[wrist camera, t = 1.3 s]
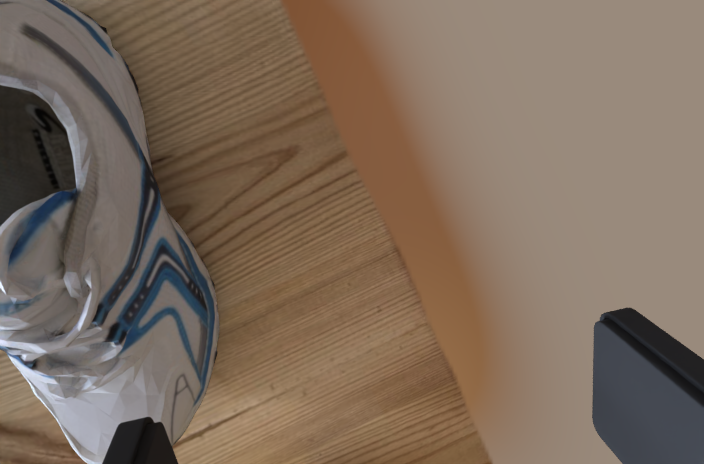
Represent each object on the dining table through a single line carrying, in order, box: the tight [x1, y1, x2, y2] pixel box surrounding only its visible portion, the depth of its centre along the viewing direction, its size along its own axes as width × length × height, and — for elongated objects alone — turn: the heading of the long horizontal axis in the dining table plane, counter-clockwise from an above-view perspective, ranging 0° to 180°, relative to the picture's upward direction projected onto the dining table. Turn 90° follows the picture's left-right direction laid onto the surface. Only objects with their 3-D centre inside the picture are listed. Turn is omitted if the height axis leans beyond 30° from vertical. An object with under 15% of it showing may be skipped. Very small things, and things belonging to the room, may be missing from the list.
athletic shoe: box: [0, 0, 219, 464], centre depth 22 cm, size 10×23×12 cm, turn 15°
